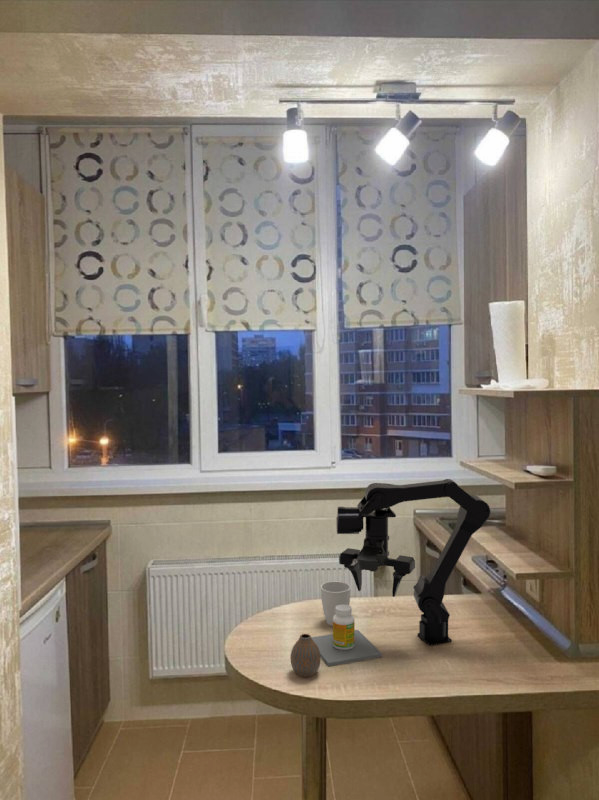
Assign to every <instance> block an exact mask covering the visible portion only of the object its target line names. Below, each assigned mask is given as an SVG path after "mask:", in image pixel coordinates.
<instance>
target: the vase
mask: <svg viewBox="0 0 599 800" xmlns="http://www.w3.org/2000/svg"><path fill="white" fill-rule="evenodd" d="M311 637H312V636H311V634H309V633H302V634H300V636H299V638H298V640H297V641H295V643H294V645H292V646H293V647H292V648H291V652H290V665H291V668H292V670H293V671H294V673H295V674H296V675H297V676H299V677H301V678H309V677H312V676H314V675H315V674H316V673H317V672H318V671H319V668H320V666H321V659H322V658H321V656H320V651H319V648H318V646H317V645H316V643H315V642H314V641H313V640H312V638H311Z"/></svg>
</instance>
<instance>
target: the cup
mask: <svg viewBox="0 0 599 800" xmlns="http://www.w3.org/2000/svg"><path fill="white" fill-rule="evenodd" d="M320 593H321V604H322V611H323V615H324V618H325V621H326V624H327V625H329V626H331V627H333V616H334V615H335V614H336V612H335V610H336V606H337V605H342V604H344V605H349V606H350V604H351V603H350V602H351V585H350V584H348V583H346V582H343V581H336V580H335V581H327V582H324V583H322V584H321V585H320Z"/></svg>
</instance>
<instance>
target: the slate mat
mask: <svg viewBox="0 0 599 800" xmlns="http://www.w3.org/2000/svg"><path fill="white" fill-rule="evenodd" d="M311 638H312V640H313V641H314V642H315V643H316V645H317V646H318V648H319V651H320V656H321V659H322V660H323V662H324V663H325V664H326V665H327V666H328V667H333V666H337V665H338V666H339V665H342V664H343V665H344V664H348V663H356V662H360V661H366V660H367V661H368V660H371V659H377V658H382V657H383V653H382V652H381V651H380V650H379V649H378V648H377V647H376V646H375V645H374V644H373V643H372V642H371V641H370V640H369V639H368V638H367V637H366V636H365V635H364V634H363V633H362V632H361V631H360V630H359V629H354V647H353V648H351V649H348V650H340V649H337V648H335V647H334V646H333V633H330V634H325V635H317V636H311Z"/></svg>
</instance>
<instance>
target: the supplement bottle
mask: <svg viewBox="0 0 599 800" xmlns="http://www.w3.org/2000/svg"><path fill="white" fill-rule="evenodd" d="M352 609H353V608H352V606H351V605H350V604H349V605H344V604H342V605H337V606H336V610H335V612H336V614H335V615H334V616H333V626H332V634H333V646H334V647H335V648H337V649H340V650H348V649H351V648H353V647H354V630H355V617H354V615H353V612H352Z"/></svg>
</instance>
